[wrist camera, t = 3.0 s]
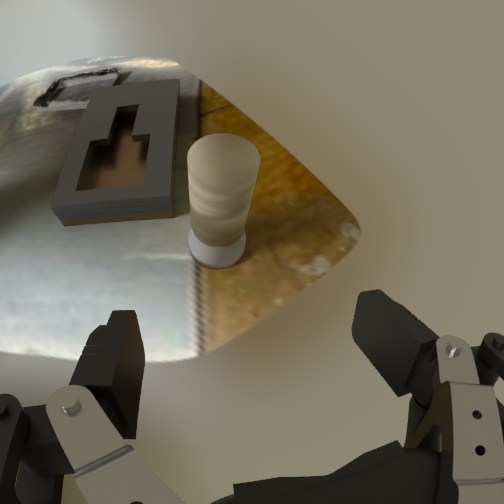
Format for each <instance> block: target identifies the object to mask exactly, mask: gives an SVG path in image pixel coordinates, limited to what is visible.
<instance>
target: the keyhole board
mask: <svg viewBox="0 0 504 504" xmlns="http://www.w3.org/2000/svg"><path fill="white" fill-rule="evenodd" d="M179 103H180V82H179V79H170V80H157V81H146V82H137V83H129V84H121V85H115V86H108V87H102V88H97V89H95V90H94V92H93V94H92V96H91V98H90V100H89V102H88V104H87V107H86V109H85V111H84V113H83V115H82V118H81V120H80V122H79V125H78V127H77V130H76V132H75V135H74V137H73V140H72V142H71V145H70V147H69V150H68V153H67V156H66V159H65V161H64V164H63V167H62V170H61V173H60V177H59V180H58V183H57V186H56V190H55V193H54V197H53V201H52V204H51V208H52V210H53V211H54V213H55V214H56V215H57V217H58V218H59V220H60V221H61V222H62V224H63V225H64V226H73V225H83V224H95V223H107V222H119V221H133V220H147V219H163V218H174V182H175V159H176V141H177V127H178V114H179Z"/></svg>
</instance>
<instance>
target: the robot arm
mask: <svg viewBox="0 0 504 504" xmlns="http://www.w3.org/2000/svg"><path fill="white" fill-rule="evenodd" d="M352 336H353V339H354V341H355V343H356V344H357V345H358V346H359V348H360V349H361V350H362V352H364V354H365V355H366V356H367V358H368V359H369V360H370V362H371V363H372V364H373V366H374V367H375V368H376V369H377V370H378V372H379V373H380V374H381V376H382V377H383V378H384V379H385V381H386V382H387V383H388V385H389V386H390V387H391V389H392V390H393V391H394V393H395V394H396V395H397V396H398V397H400V396H403V395H406V394H408V393H410V392H411V394H412V397H411V399H410V402H409V413H408V424H407V433H406V440H405V444H404V447H403V448H402V446H401V445H400V443H399V442H398V440H396V441H394V442H391V443H389V444H386V445H384V446H382V447H379V448H377V449H374V450H372V451H369V452H366V453H364V454H362V455H361V456H359V457H358V458H356V459H354V460H353V461H351V462H350V463H348V464H347V465H345V466H343V467H342V468H340V469H338V470H337V471H335V472H334V473H331V474H329V475H325V476H310V477H277V478H272V479H266V480H259V481H253V482H246V483H238V484H233V488H234V494H232V495H229V496H226V497H224V498H221V499H219V500H217V501H215V502H213V503H211V504H504V406H503V405H502V404H501V403H500V402H499V400H498V399H497V398H496V397H495V392H494V389H493V386H494V384H495V383H496V381H497V379H498V378H499V376H500V377H501V378H502V379H503V380H504V336H502V335H500V334H497V333H488V334H486V335H485V337H484V339H483V341H482V344H481V345H480V346H477V347H470V346H469V345H468V344H467V343H466V342H465V341H464V340H462V339H460V338H457V337H453V336H443V337H438V336H437V335H436V334H435V333H434V332H433V331H432V330H431V329H430V328H428V327H427V326H426V325H425V324H424V323H422V322H421V321H420V320H418V319H417V317H416V316H414V315H413V314H411V312H410V311H409V310H407V309H406V308H405V307H404V306H403V305H401V304H399V303H397V302H395V301H393V300H392V299H391V298H389V297H388V296H387V295H386V294H385V293H384V292H382V291H381V290H379V289H378V290H371V291H364V292H361V293H360V294H359V296H358V300H357V305H356V310H355V315H354V319H353V324H352ZM144 366H145V352H144V346H143V342H142V338H141V333H140V329H139V324H138V320H137V315H136V312H135V311H134V310H116V311H112V313H111V316H110V318H109V320H108V323H107V325H99V326H98V327H97V328H96V329H95V330H94V331H93V332H92V333H91V334H90V335H89V338H88V340H87V342H86V346H85V347H84V349H83V351H82V355H81V356H80V358H79V361H78V363H77V366H76V368H75V371H74V373H73V376H72V378H71V381H70V383H69V385H68V386H64V387H61V388H59V389H57V390H56V391H55V392H53V394H51V396H50V397H49V399H48V401H47V403H46V404H45V405H39V406H32V407H22V406H21V404H20V402H19V401H18V399H16V398H15V397H14V396H13V395H10V394H0V504H61V497H62V487H63V479H64V474H73V477H74V480H75V482H76V483H77V485H78V487H79V489H80V490H81V492H82V493H83V495H84V497H85V498H86V500H87V501H88V503H89V504H185V502H183V501H182V500H181V499H180V498H179V497H178V496H177V495H176V494H175V493H174V492H173V491H172V490H171V489H170V488H169V487H168V486H167V485H166V484H165V483H164V482H163V481H162V480H161V479H160V477H159V476H158V475H157V474H156V473H155V472H154V471H153V470H152V469H151V468H150V467H149V465H148V464H147V463H146V462H145V461H144V460H143V458H142V457H141V456H140V455H139V454H138V453H137V451H136V450H135V449H134V448H133V447H132V446H131V445H130V446H129V445H128V444H127V443H126V442H125V440H124V439H136V430H137V419H138V411H139V402H140V394H141V387H142V380H143V373H144ZM19 463H20V467H19ZM18 468H19V472H18ZM17 472H18V477H17V481H16V476H17ZM15 482H16V487H15Z"/></svg>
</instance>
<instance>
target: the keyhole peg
mask: <svg viewBox="0 0 504 504" xmlns="http://www.w3.org/2000/svg"><path fill="white" fill-rule="evenodd" d="M187 162H188V182H189V199H190V213H191V228H190V230H189V233H188V243H189V250H190V253H191V255H192V257H193V258H194V259H195V260H196V261H197V262H198V263H199V264H200V265H202V266H204V267H207V268H210V269H224V268H227V267H230V266H232V265H233V264H235V263H236V262H237V261H238V260H239V259H240V258H241V256H242V254H243V252H244V248H245V244H246V234H245V230H244V229H245V224H246V220H247V216H248V212H249V208H250V203H251V199H252V195H253V191H254V187H255V183H256V179H257V174H258V170H259V166H260V154H259V152H258V150H257V148H256V147H255V146H254V145H253V144H252V143H251V142H250V141H248V140H247V139H245V138H243V137H241V136H238V135H234V134H229V133H216V134H210V135H207V136H204V137H202V138H200V139H199V140H197V141H196V142H195V143H194V144H193V145H192V146H191V148H190V149H189V152H188V156H187Z"/></svg>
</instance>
